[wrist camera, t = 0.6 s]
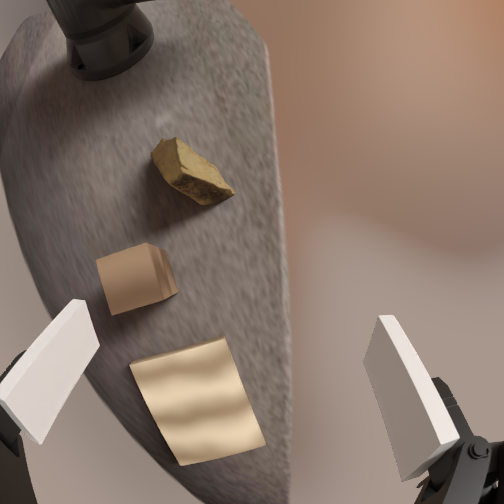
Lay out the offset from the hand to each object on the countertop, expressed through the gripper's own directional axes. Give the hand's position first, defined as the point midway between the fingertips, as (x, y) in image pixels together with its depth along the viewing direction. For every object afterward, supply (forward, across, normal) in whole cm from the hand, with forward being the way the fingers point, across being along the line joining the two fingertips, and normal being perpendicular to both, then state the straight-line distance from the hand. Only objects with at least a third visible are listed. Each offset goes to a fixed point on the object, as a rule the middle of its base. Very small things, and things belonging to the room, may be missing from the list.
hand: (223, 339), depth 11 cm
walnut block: (+19, -11, -8) cm, 23 cm away
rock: (+26, -7, +4) cm, 27 cm away
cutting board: (+12, -5, -22) cm, 26 cm away
